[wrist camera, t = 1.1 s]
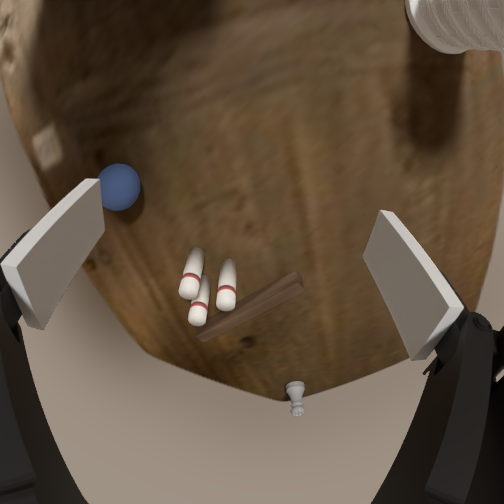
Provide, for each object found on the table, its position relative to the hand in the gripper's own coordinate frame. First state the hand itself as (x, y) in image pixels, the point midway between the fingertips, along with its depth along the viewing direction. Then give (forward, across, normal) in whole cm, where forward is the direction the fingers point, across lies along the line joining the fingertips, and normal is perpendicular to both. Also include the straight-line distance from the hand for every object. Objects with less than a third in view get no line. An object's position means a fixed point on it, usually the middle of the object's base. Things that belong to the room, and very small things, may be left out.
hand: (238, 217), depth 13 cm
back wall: (+24, +4, -28) cm, 37 cm away
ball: (+21, -15, -8) cm, 27 cm away
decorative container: (+25, +23, +22) cm, 41 cm away
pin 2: (+24, 0, -21) cm, 32 cm away
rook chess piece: (+23, +18, -53) cm, 61 cm away
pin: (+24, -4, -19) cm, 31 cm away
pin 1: (+24, -3, -24) cm, 34 cm away
